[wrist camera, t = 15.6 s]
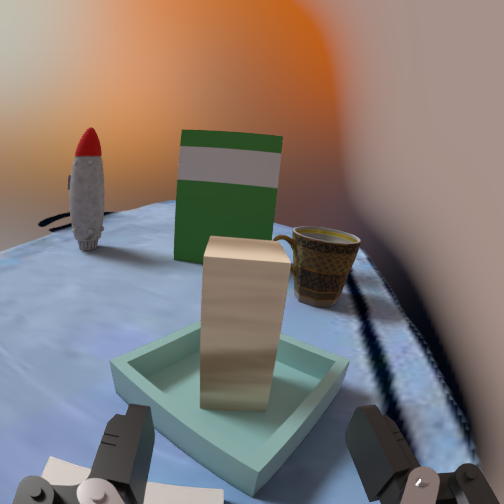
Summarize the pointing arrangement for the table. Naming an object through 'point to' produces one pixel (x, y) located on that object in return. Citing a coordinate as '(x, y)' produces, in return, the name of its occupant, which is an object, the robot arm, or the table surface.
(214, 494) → the white board
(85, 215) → the toy rocket
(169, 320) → the table surface
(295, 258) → the ceramic cup
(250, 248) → the birch block
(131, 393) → the tray
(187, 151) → the hardback book
